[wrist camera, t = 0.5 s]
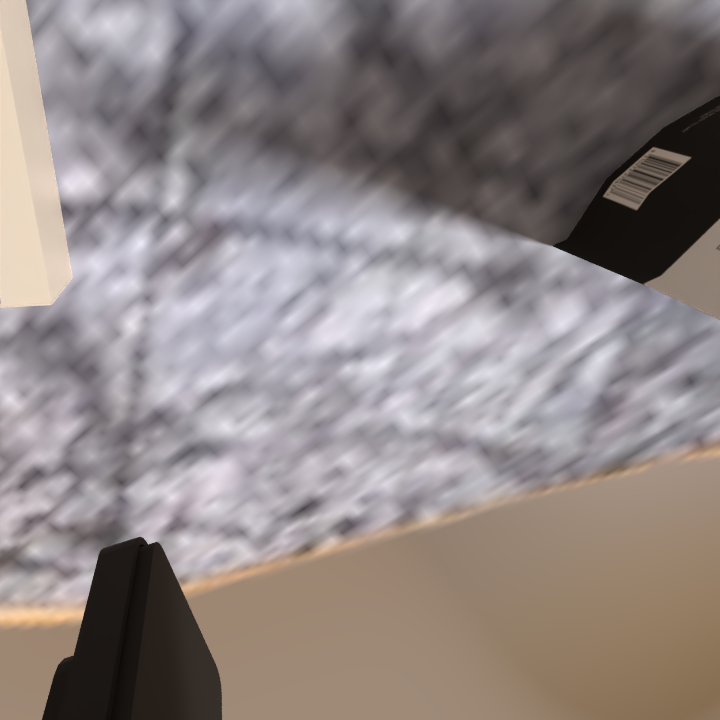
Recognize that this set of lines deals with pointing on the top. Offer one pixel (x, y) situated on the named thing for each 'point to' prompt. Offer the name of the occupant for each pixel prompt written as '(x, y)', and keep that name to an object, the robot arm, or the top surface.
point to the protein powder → (662, 214)
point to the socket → (26, 175)
